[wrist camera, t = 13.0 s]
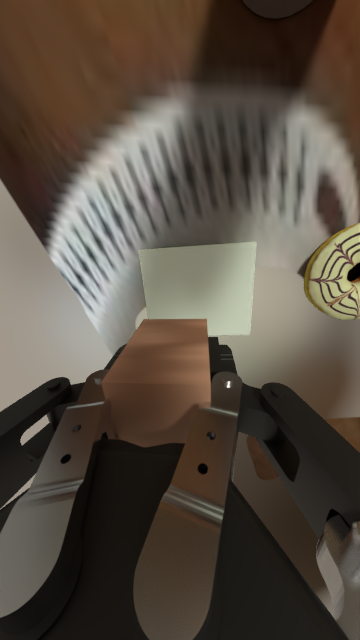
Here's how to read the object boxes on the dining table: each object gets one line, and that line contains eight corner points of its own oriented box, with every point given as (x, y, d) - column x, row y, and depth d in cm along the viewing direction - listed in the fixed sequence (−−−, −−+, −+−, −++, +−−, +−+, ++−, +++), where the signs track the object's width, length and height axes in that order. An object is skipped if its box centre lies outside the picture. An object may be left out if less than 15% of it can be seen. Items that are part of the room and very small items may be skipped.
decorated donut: (418, 261, 23) (455, 267, 20) (335, 325, 27) (354, 339, 24) (360, 199, 22) (390, 192, 18) (280, 277, 26) (293, 284, 22)
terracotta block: (206, 318, 13) (210, 385, 7) (206, 371, 14) (210, 460, 9) (143, 319, 13) (101, 382, 7) (150, 370, 15) (119, 454, 9)
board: (254, 241, 24) (256, 241, 23) (248, 331, 29) (250, 335, 28) (140, 249, 26) (138, 250, 25) (152, 333, 30) (150, 336, 30)
